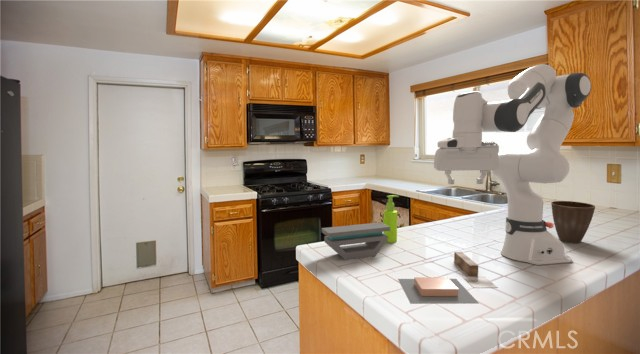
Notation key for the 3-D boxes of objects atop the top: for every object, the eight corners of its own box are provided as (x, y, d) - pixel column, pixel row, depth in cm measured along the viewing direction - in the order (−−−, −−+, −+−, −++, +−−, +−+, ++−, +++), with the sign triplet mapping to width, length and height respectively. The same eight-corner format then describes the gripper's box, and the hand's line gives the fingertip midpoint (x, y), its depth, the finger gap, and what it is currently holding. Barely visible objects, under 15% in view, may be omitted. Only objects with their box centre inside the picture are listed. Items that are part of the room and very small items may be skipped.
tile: (448, 277, 101) (458, 289, 93) (447, 284, 101) (458, 296, 93) (414, 277, 101) (421, 289, 93) (414, 284, 101) (421, 296, 93)
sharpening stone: (379, 248, 137) (379, 222, 136) (389, 254, 130) (390, 226, 129) (321, 256, 129) (321, 228, 128) (329, 262, 122) (328, 233, 121)
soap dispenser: (401, 241, 147) (402, 195, 144) (388, 243, 144) (388, 196, 142) (393, 237, 152) (394, 193, 150) (380, 239, 149) (380, 194, 147)
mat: (456, 280, 105) (456, 278, 105) (479, 305, 89) (479, 303, 89) (397, 280, 105) (397, 278, 105) (410, 305, 90) (410, 303, 89)
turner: (447, 264, 119) (448, 252, 119) (467, 264, 119) (468, 251, 119) (473, 290, 98) (473, 275, 98) (497, 290, 98) (498, 275, 98)
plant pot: (599, 242, 141) (602, 205, 140) (581, 248, 134) (584, 208, 133) (560, 234, 155) (562, 199, 153) (541, 239, 148) (544, 203, 146)
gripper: (494, 141, 113) (492, 182, 115) (432, 142, 114) (431, 183, 115) (504, 141, 107) (502, 184, 108) (438, 142, 107) (438, 185, 109)
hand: (465, 184), depth 112 cm, fingers open, 8 cm apart
